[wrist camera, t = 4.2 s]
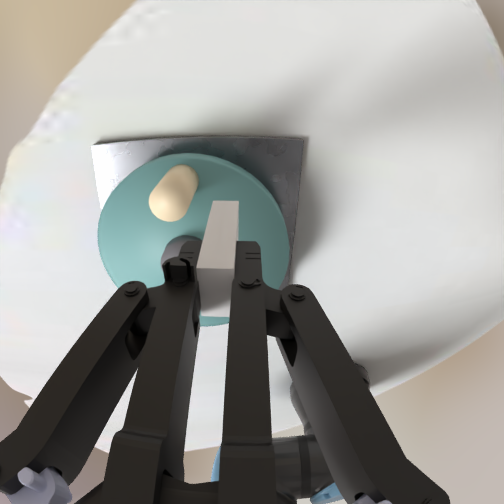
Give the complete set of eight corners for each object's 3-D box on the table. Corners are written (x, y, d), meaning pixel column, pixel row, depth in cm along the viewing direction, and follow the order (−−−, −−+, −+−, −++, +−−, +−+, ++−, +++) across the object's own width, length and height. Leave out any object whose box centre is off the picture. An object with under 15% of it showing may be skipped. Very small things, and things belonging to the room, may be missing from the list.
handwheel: (278, 316, 37) (283, 361, 31) (125, 310, 36) (108, 350, 30) (295, 155, 26) (310, 179, 20) (90, 159, 25) (53, 184, 20)
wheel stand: (302, 138, 28) (306, 144, 26) (284, 306, 40) (285, 320, 38) (94, 144, 27) (82, 150, 25) (126, 300, 39) (121, 313, 37)
